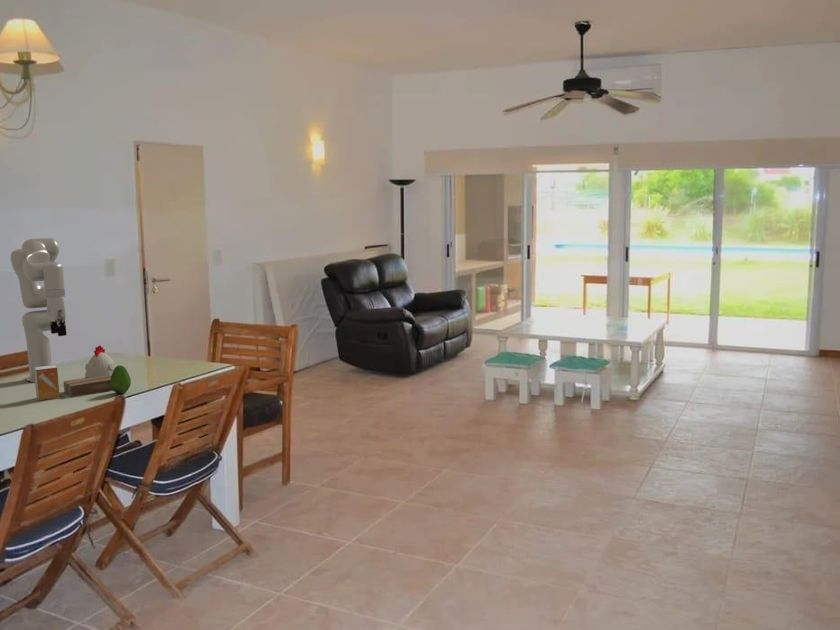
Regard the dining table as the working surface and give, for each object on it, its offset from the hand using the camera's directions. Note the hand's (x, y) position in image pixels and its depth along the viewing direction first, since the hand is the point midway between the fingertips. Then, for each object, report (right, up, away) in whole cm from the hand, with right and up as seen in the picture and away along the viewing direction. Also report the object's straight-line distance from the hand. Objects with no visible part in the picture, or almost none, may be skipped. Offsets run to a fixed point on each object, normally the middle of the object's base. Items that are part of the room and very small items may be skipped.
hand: (58, 334), depth 330 cm
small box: (-4, -26, -1) cm, 27 cm away
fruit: (+25, -25, +4) cm, 35 cm away
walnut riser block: (+9, -25, +10) cm, 28 cm away
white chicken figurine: (+4, -21, +35) cm, 41 cm away
